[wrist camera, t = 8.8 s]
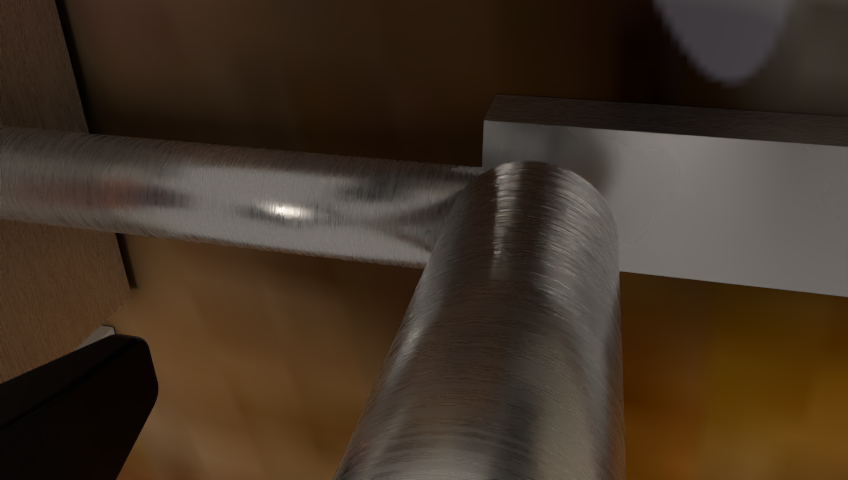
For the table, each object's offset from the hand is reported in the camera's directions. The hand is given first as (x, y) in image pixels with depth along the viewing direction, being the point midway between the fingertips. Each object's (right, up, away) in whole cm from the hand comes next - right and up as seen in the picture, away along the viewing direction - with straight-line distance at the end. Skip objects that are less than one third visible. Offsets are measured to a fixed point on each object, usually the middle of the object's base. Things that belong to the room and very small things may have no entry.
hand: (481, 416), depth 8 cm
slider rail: (+7, +3, +6) cm, 10 cm away
